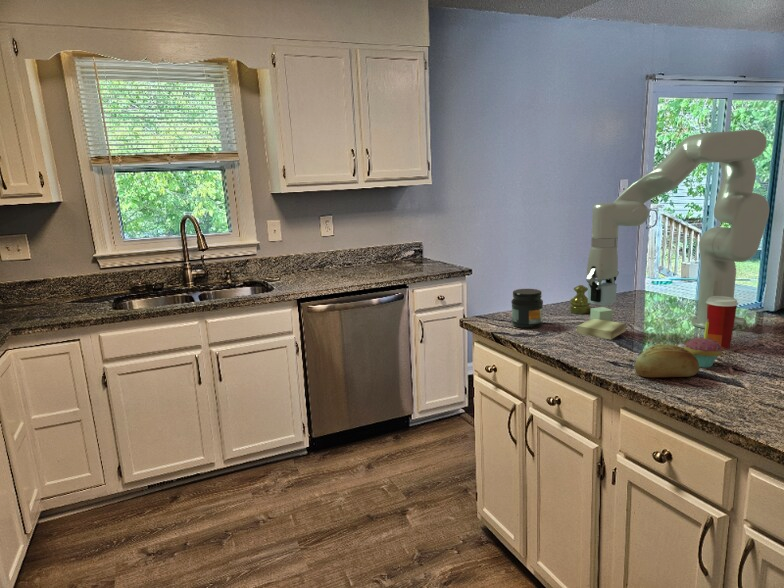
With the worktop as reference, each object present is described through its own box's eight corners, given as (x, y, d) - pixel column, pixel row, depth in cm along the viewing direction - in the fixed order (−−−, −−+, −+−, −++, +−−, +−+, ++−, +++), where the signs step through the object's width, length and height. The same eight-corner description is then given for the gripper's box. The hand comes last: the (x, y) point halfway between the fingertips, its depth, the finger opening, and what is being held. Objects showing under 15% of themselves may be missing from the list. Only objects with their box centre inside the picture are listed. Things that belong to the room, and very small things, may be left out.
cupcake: (689, 356, 140) (692, 314, 137) (725, 363, 134) (729, 319, 131) (678, 365, 134) (681, 321, 131) (716, 373, 128) (720, 327, 125)
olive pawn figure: (566, 310, 194) (566, 284, 192) (585, 308, 195) (585, 282, 192) (575, 315, 187) (575, 288, 185) (594, 313, 187) (595, 286, 185)
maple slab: (625, 332, 165) (625, 323, 164) (610, 340, 158) (611, 331, 157) (592, 326, 173) (592, 318, 172) (576, 334, 165) (577, 325, 165)
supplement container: (549, 326, 174) (549, 292, 172) (522, 331, 171) (522, 296, 168) (531, 319, 184) (531, 286, 181) (505, 323, 181) (505, 290, 178)
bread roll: (708, 383, 122) (710, 351, 121) (642, 384, 124) (644, 352, 122) (689, 368, 132) (691, 339, 130) (628, 369, 133) (630, 340, 132)
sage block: (612, 324, 173) (612, 310, 172) (599, 326, 172) (599, 311, 171) (602, 320, 178) (603, 306, 177) (590, 322, 177) (590, 308, 176)
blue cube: (615, 302, 162) (616, 284, 161) (604, 305, 159) (605, 286, 158) (598, 299, 167) (599, 281, 166) (587, 302, 164) (588, 284, 163)
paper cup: (729, 342, 149) (734, 295, 146) (737, 350, 142) (742, 302, 139) (699, 341, 152) (702, 295, 149) (705, 349, 145) (709, 301, 142)
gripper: (609, 239, 167) (607, 293, 171) (576, 245, 157) (574, 302, 161) (631, 241, 161) (628, 297, 165) (598, 247, 151) (596, 306, 155)
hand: (601, 299), depth 163 cm, fingers closed on blue cube, 6 cm apart
